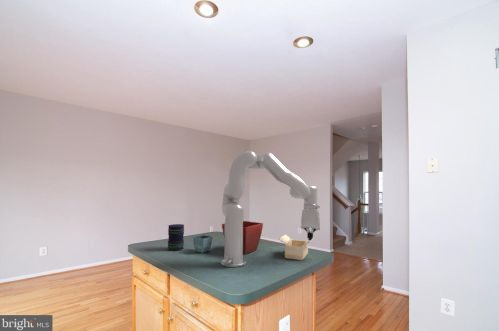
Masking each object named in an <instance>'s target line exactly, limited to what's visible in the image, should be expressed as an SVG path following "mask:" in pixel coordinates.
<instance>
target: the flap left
mask: <svg viewBox="0 0 499 331" xmlns="http://www.w3.org/2000/svg"><path fill="white" fill-rule="evenodd" d="M278 240H279V241H280V242H281V243H283V244H284V245H286V244H287V243H288V242H289V241H290V240H292V238H290V237H289V236H288V235H287V234H284V235H283V236H281V237H280V238H279V239H278Z"/></svg>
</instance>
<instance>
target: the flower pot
mask: <svg viewBox="0 0 499 331" xmlns="http://www.w3.org/2000/svg"><path fill="white" fill-rule="evenodd" d="M192 239H193V240H192V241H193V247H194V249H195V251H196V252H197V253H202V254H203V253H204V254H205V253H206V252H208V251H209V250H210V248H211V247H212V242H213V236H211V235H205V234H201V235H197V236H193V237H192Z"/></svg>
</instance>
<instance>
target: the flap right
mask: <svg viewBox="0 0 499 331" xmlns="http://www.w3.org/2000/svg"><path fill="white" fill-rule="evenodd" d="M314 238H315V237H314V236H313V239H314ZM313 239H311V240H308V239H307V240H306V241H307V242H306V243H305V244H304V245H303V246H305V245H306V244H308V245H309V244H310V243H311V242H312V241H313Z"/></svg>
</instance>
